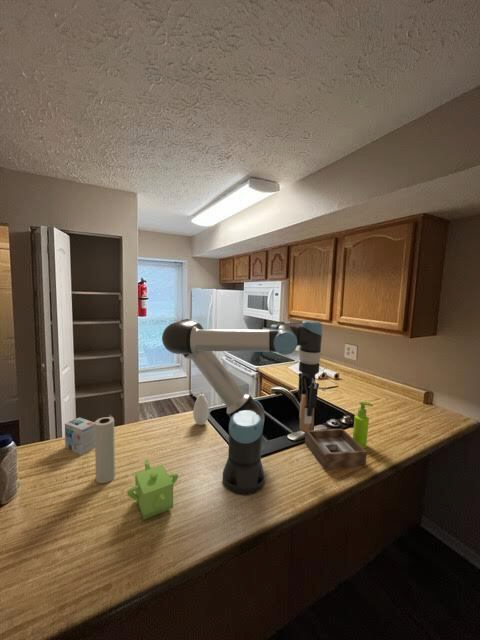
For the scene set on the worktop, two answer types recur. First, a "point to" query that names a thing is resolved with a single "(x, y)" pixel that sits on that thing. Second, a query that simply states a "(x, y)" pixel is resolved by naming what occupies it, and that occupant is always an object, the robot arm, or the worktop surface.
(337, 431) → the box
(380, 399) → the worktop surface
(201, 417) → the sauce bottle
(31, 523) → the worktop surface
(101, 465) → the paper towel roll
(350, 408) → the worktop surface
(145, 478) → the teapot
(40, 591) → the worktop surface
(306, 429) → the peg
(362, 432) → the soap dispenser
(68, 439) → the light bulb box
